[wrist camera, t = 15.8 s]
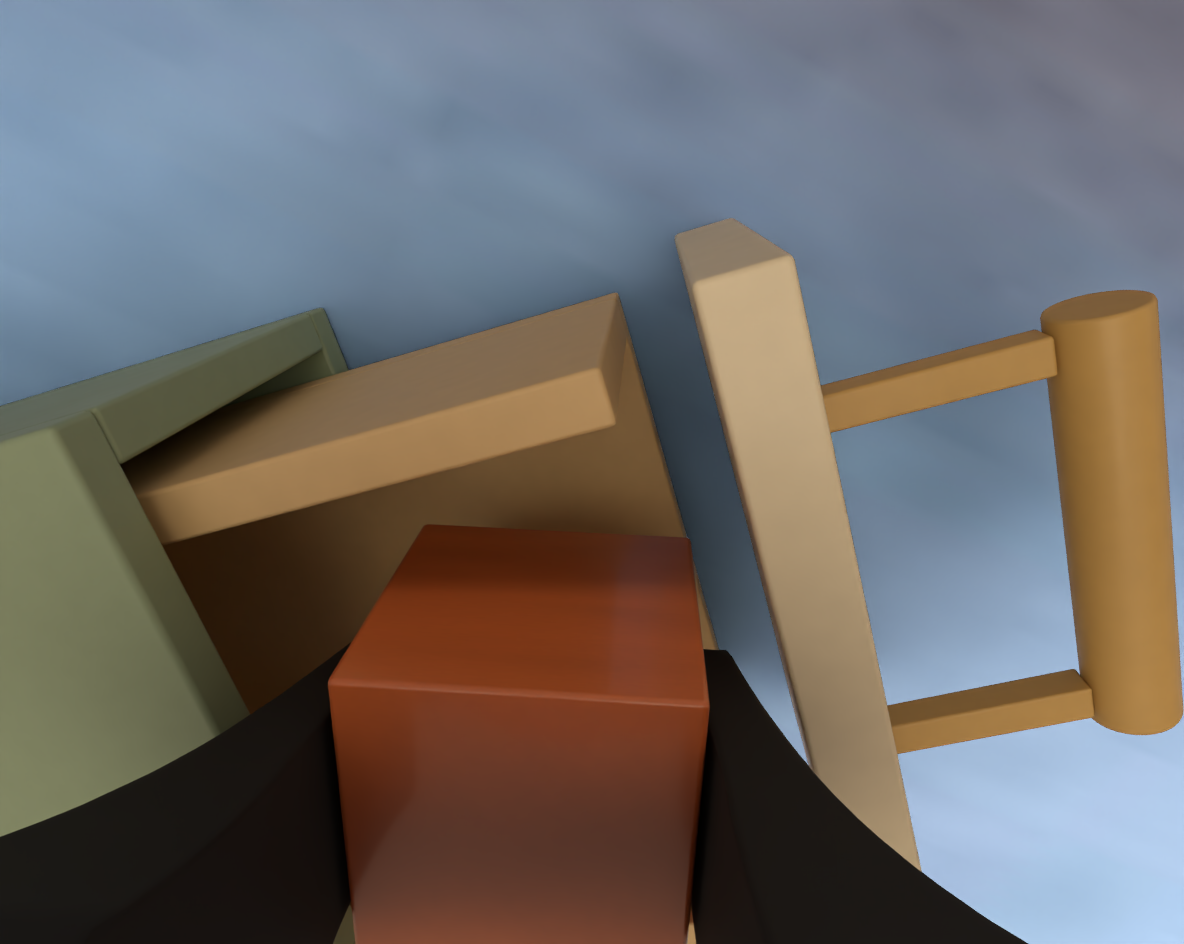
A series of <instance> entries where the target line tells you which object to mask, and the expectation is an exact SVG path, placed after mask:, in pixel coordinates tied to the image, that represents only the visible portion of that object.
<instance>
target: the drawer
mask: <svg viewBox="0 0 1184 944" xmlns="http://www.w3.org/2000/svg"><path fill="white" fill-rule="evenodd" d="M675 244H676V248H677V252H678V256H679V260H680V263H681V267H682V271H683V275H684V279H685V283H686V287H687V291H688V295H689V299H690V303H691V307H692V311H693V315H694V319H695V322H696V326H697V330H698V334H699V338H700V342H701V346H702V350H703V354H704V358H705V362H706V366H707V370H708V374H709V378H710V381H711V385H712V389H713V393H714V397H715V401H716V405H717V409H718V413H719V417H720V421H721V425H722V429H723V433H724V437H725V440H726V444H727V448H728V452H729V456H730V460H731V464H732V468H733V472H734V476H735V480H736V484H737V488H738V492H739V496H740V499H741V503H742V507H743V511H744V515H745V519H746V523H747V527H748V531H749V535H750V539H751V543H752V547H753V551H754V555H755V558H756V562H757V566H758V570H759V574H760V578H761V582H762V586H763V590H764V594H765V598H766V602H767V606H768V610H769V614H770V618H771V621H772V625H773V629H774V633H775V637H776V641H777V645H778V649H779V653H780V657H781V661H782V665H783V669H784V673H785V677H786V680H787V684H788V688H789V692H790V696H791V700H792V704H793V708H794V712H795V716H796V719H797V723H798V727H799V731H800V734H801V738H802V742H803V746H804V749H805V753H806V757H807V761H808V764H809V767H810V768H811V769H812V770H813V772H814V773H815V774H816V775H817V776H818V777H819V779H820V780H821V781H822V782H823V783H824V784H825V785H826V786H827V787H828V789H829V790H830V791H831V792H832V793H833V794H834V795H835V796H836V797H837V798H838V799H839V800H840V801H841V802H842V803H843V804H844V805H845V806H846V807H847V808H848V809H849V810H850V811H851V812H852V813H853V814H854V815H855V816H856V817H857V818H858V819H859V820H860V821H862V822H863V823H864V824H865V825H866V826H867V827H868V828H869V829H870V830H872V831H873V832H874V833H875V834H876V835H877V836H878V837H879V838H881V839H882V840H883V841H884V842H885V843H887V844H888V845H889V846H890V847H891V848H893V849H894V850H895V851H896V852H897V853H899V854H900V855H901V856H902V857H903V858H905V859H906V860H907V861H908V862H910V863H911V864H912V865H913V866H914V867H916V868H917V869H918V870H920V871H921V866H920V861H919V856H918V852H917V847H916V842H915V837H914V832H913V828H912V823H911V818H910V813H909V808H908V803H907V799H906V794H905V789H904V784H903V779H902V775H901V770H900V765H899V760H898V755H897V754H900V753H905V752H911V751H916V750H921V749H927V748H932V747H937V746H943V745H948V744H953V743H959V742H964V741H969V740H975V739H980V738H985V737H991V736H996V735H1001V734H1007V733H1012V732H1017V731H1023V730H1028V729H1033V728H1039V727H1044V726H1050V725H1055V724H1060V723H1066V722H1071V721H1076V720H1082V719H1087V718H1092V719H1093V720H1095V721H1096V722H1097V723H1099V724H1100V725H1102V726H1104V727H1106V728H1108V729H1111V730H1114V731H1117V732H1121V733H1126V734H1133V735H1151V734H1157V733H1161V732H1164V731H1167V730H1169V729H1171V728H1173V727H1174V726H1175V725H1176V724H1177V723H1178V722H1179V721H1180V719H1181V718H1182V715H1183V698H1182V682H1181V666H1180V650H1179V634H1178V619H1177V603H1176V587H1175V571H1174V555H1173V539H1172V523H1171V507H1170V491H1169V475H1168V459H1167V443H1166V427H1165V411H1164V395H1163V379H1162V363H1161V347H1160V331H1159V315H1158V300H1157V298H1156V296H1155V295H1154V294H1152V293H1150V292H1145V291H1137V290H1117V291H1106V292H1099V293H1092V294H1087V295H1082V296H1078V297H1074V298H1071V299H1067V300H1064V301H1062V302H1059V303H1057V304H1054V305H1052V306H1050V307H1048V308H1047V309H1045V310H1044V311H1043V312H1042V314H1041V317H1040V321H1041V330H1042V332H1040V331H1038V330H1031V331H1027V332H1023V333H1020V334H1016V335H1012V336H1008V337H1004V338H1001V339H997V340H993V341H989V342H985V343H982V344H978V345H974V346H970V347H966V348H962V349H959V350H955V351H951V352H947V353H943V354H940V355H936V356H932V357H928V358H924V359H921V360H917V361H913V362H909V363H905V364H901V365H898V366H894V367H890V368H886V369H882V370H879V371H875V372H871V373H867V374H863V375H860V376H856V377H852V378H848V379H844V380H840V381H837V382H833V383H829V384H825V385H820V380H819V375H818V371H817V366H816V361H815V356H814V351H813V347H812V342H811V337H810V332H809V327H808V322H807V318H806V313H805V308H804V303H803V298H802V294H801V289H800V284H799V279H798V274H797V270H796V265H795V260H794V258H793V257H792V256H791V255H790V254H789V253H787V252H786V251H784V250H782V249H781V248H779V247H778V246H776V245H775V244H773V243H771V242H770V241H768V240H767V239H765V238H764V237H762V236H761V235H759V234H757V233H756V232H754V231H753V230H751V229H750V228H748V227H746V226H745V225H743V224H742V223H740V222H739V221H737V220H735V219H734V218H729V219H725V220H722V221H719V222H715V223H712V224H709V225H705V226H702V227H699V228H695V229H692V230H689V231H685V232H682V233H679V234H677V235H676V236H675ZM1046 378H1047V383H1048V392H1049V401H1050V410H1051V419H1052V428H1053V437H1054V446H1055V455H1056V464H1057V473H1058V482H1059V491H1060V500H1061V509H1062V518H1063V527H1064V536H1065V545H1066V554H1067V563H1068V572H1069V581H1070V590H1071V599H1072V608H1073V617H1074V626H1075V635H1076V643H1077V652H1078V661H1079V670H1080V675H1079V673H1078V672H1077V671H1076V670H1075V669H1070V670H1065V671H1060V672H1055V673H1050V674H1045V675H1040V676H1035V677H1030V678H1025V679H1020V680H1015V681H1009V682H1004V683H999V684H994V685H989V686H984V687H979V688H974V689H969V690H964V691H959V692H954V693H948V694H943V695H938V696H933V697H928V698H923V699H918V700H913V701H908V702H903V703H898V704H893V705H888V706H887V702H886V698H885V693H884V688H883V683H882V678H881V674H880V669H879V664H878V659H877V654H876V650H875V645H874V640H873V635H872V630H871V626H870V621H869V616H868V611H867V606H866V601H865V597H864V592H863V587H862V582H861V577H860V573H859V568H858V563H857V558H856V553H855V549H854V544H853V539H852V534H851V529H850V525H849V520H848V515H847V510H846V505H845V500H844V496H843V491H842V486H841V481H840V476H839V472H838V467H837V462H836V457H835V452H834V448H833V443H832V438H831V433H832V432H836V431H840V430H844V429H848V428H851V427H855V426H859V425H863V424H867V423H871V422H875V421H879V420H883V419H887V418H891V417H895V416H899V415H903V414H907V413H911V412H915V411H919V410H923V409H927V408H931V407H935V406H939V405H943V404H947V403H950V402H954V401H958V400H962V399H966V398H970V397H974V396H978V395H982V394H986V393H990V392H994V391H998V390H1002V389H1006V388H1010V387H1014V386H1018V385H1022V384H1026V383H1030V382H1034V381H1038V380H1042V379H1046ZM120 466H121V468H122V470H123V471H124V473H125V475H126V477H127V479H128V481H129V483H130V485H131V487H132V489H133V491H134V493H135V494H136V496H137V498H138V500H139V502H140V504H141V506H142V508H143V510H144V512H145V514H146V515H147V517H148V519H149V521H150V523H151V525H152V527H153V529H154V531H155V533H156V535H157V537H158V538H159V540H160V542H161V544H162V546H163V548H164V550H165V552H166V554H167V556H168V558H169V559H170V561H171V563H172V565H173V567H174V569H175V571H176V573H177V575H178V577H179V579H180V581H181V582H182V584H183V586H184V588H185V590H186V592H187V594H188V596H189V598H190V600H191V602H192V603H193V605H194V607H195V609H196V611H197V613H198V615H199V617H200V619H201V621H202V623H203V624H204V626H205V628H206V630H207V632H208V634H209V636H210V638H211V640H212V642H213V644H214V646H215V647H216V649H217V651H218V653H219V655H220V657H221V659H222V661H223V663H224V665H225V667H226V668H227V670H228V672H229V674H230V676H231V678H232V680H233V682H234V684H235V686H236V688H237V690H238V691H239V693H240V695H241V697H242V699H243V701H244V703H245V705H246V707H247V709H248V711H249V712H250V714H252V713H253V712H255V711H256V710H258V709H259V708H261V707H262V706H264V705H265V704H267V703H268V702H270V701H271V700H273V699H274V698H276V697H277V696H279V695H280V694H282V693H283V692H284V691H286V690H287V689H288V688H290V687H291V686H293V685H294V684H295V683H297V682H298V681H299V680H301V679H302V678H304V677H305V676H306V675H308V674H309V673H310V672H312V671H313V670H314V669H316V668H317V667H319V666H320V665H321V664H323V663H324V662H325V661H327V660H328V659H329V658H330V657H332V656H333V655H334V654H336V653H337V652H338V651H340V650H341V649H342V648H344V647H345V646H346V645H348V644H349V643H350V642H352V641H353V639H354V637H355V636H356V634H357V633H358V631H359V629H360V628H361V626H362V624H363V623H364V621H365V620H366V618H367V616H368V615H369V613H370V611H371V610H372V608H373V607H374V605H375V603H376V602H377V600H378V599H379V597H380V595H381V594H382V592H383V590H384V589H385V587H386V586H387V584H388V582H389V581H390V579H391V577H392V576H393V574H394V573H395V571H396V569H397V568H398V566H399V565H400V563H401V561H402V560H403V558H404V556H405V555H406V553H407V552H408V550H409V548H410V547H411V545H412V543H413V542H414V540H415V539H416V537H417V535H418V534H419V532H420V531H421V529H422V527H423V526H424V525H426V524H436V525H455V526H474V527H493V528H513V529H532V530H551V531H571V532H590V533H609V534H628V535H648V536H667V537H686V538H687V535H686V531H685V528H684V524H683V521H682V517H681V514H680V510H679V507H678V503H677V500H676V496H675V492H674V489H673V485H672V482H671V478H670V475H669V471H668V468H667V464H666V461H665V457H664V454H663V450H662V447H661V443H660V439H659V436H658V432H657V429H656V425H655V422H654V418H653V415H652V411H651V408H650V404H649V401H648V397H647V393H646V390H645V386H644V383H643V379H642V376H641V372H640V369H639V365H638V362H637V358H636V355H635V351H634V347H633V344H632V340H631V337H630V333H629V330H628V326H627V323H626V319H625V316H624V312H623V309H622V305H621V301H620V298H619V295H618V293H612V294H608V295H605V296H602V297H598V298H595V299H591V300H588V301H584V302H581V303H578V304H574V305H571V306H567V307H564V308H561V309H557V310H554V311H550V312H547V313H543V314H540V315H537V316H533V317H530V318H526V319H523V320H519V321H516V322H513V323H509V324H506V325H502V326H499V327H496V328H492V329H489V330H485V331H482V332H478V333H475V334H472V335H468V336H465V337H461V338H458V339H454V340H451V341H448V342H444V343H441V344H437V345H434V346H431V347H427V348H424V349H420V350H417V351H413V352H410V353H407V354H403V355H400V356H396V357H393V358H390V359H386V360H383V361H379V362H376V363H372V364H369V365H366V366H362V367H359V368H355V369H352V370H348V371H345V372H342V373H338V374H335V375H331V376H328V377H325V378H321V379H318V380H314V381H311V382H307V383H304V384H301V385H297V386H294V387H290V388H287V389H283V390H280V391H277V392H273V393H270V394H266V395H263V396H260V397H256V398H253V399H249V400H246V401H242V402H239V403H236V404H232V405H229V406H225V407H222V408H219V409H218V410H216V411H214V412H212V413H211V414H209V415H207V416H205V417H204V418H202V419H200V420H198V421H196V422H195V423H193V424H191V425H189V426H188V427H186V428H184V429H182V430H181V431H179V432H177V433H175V434H174V435H172V436H170V437H168V438H167V439H165V440H163V441H161V442H160V443H158V444H156V445H154V446H153V447H151V448H149V449H147V450H146V451H144V452H142V453H140V454H139V455H137V456H135V457H133V458H132V459H130V460H128V461H126V462H125V463H123V464H120ZM693 563H694V560H693ZM694 572H695V581H696V589H697V598H698V607H699V615H700V624H701V632H702V641H703V649H710V650H719V648H718V645H717V641H716V637H715V634H714V630H713V627H712V623H711V620H710V616H709V613H708V609H707V606H706V602H705V599H704V595H703V592H702V588H701V584H700V581H699V577H698V574H697V570H696V567H695V563H694ZM921 872H922V871H921ZM350 906H351V902H350ZM687 944H696V939H695V932H694V924H693V917H692V909H691V911H690V921H689V932H688V942H687Z"/></svg>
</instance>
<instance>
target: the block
mask: <svg viewBox="0 0 1184 944" xmlns="http://www.w3.org/2000/svg"><path fill="white" fill-rule="evenodd" d="M328 690H329V700H330V709H331V719H332V728H333V738H334V747H335V756H336V766H337V775H338V785H339V794H340V804H341V813H342V823H343V832H344V841H345V851H346V860H347V870H348V879H349V889H350V898H351V908H352V917H353V926H354V936H355V944H687V942H688V932H689V921H690V911H691V900H692V890H693V879H694V869H695V858H696V848H697V837H698V827H699V816H700V806H701V795H702V785H703V774H704V764H705V753H706V743H707V732H708V722H709V711H710V702H709V693H708V684H707V676H706V667H705V658H704V650H703V641H702V632H701V624H700V615H699V607H698V598H697V589H696V581H695V572H694V563H693V555H692V546H691V541H690V539H689V538H686V537H667V536H648V535H628V534H609V533H590V532H571V531H551V530H532V529H513V528H493V527H474V526H455V525H436V524H426V525H424V526H423V527H422V529H421V531H420V532H419V534H418V535H417V537H416V539H415V540H414V542H413V543H412V545H411V547H410V548H409V550H408V552H407V553H406V555H405V556H404V558H403V560H402V561H401V563H400V565H399V566H398V568H397V569H396V571H395V573H394V574H393V576H392V577H391V579H390V581H389V582H388V584H387V586H386V587H385V589H384V590H383V592H382V594H381V595H380V597H379V599H378V600H377V602H376V603H375V605H374V607H373V608H372V610H371V611H370V613H369V615H368V616H367V618H366V620H365V621H364V623H363V624H362V626H361V628H360V629H359V631H358V633H357V634H356V636H355V637H354V639H353V641H352V642H351V644H350V646H349V647H348V649H347V650H346V652H345V654H344V655H343V657H342V658H341V660H340V662H339V663H338V665H337V667H336V668H335V670H334V671H333V673H332V675H331V676H330V678H329V680H328Z"/></svg>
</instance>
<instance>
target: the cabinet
mask: <svg viewBox="0 0 1184 944" xmlns="http://www.w3.org/2000/svg"><path fill="white" fill-rule="evenodd" d="M345 371H348V367H347V365H346V363H345V360H344V358H343V355H342V353H341V350H340V348H339V345H338V343H337V340H336V338H335V335H334V333H333V331H332V328H331V326H330V323H329V321H328V318H327V316H326V313H325V311H324V309H323V308H317V309H314V310H311V311H307V312H304V313H301V314H298V315H294V316H291V317H288V318H285V319H281V320H278V321H275V322H272V323H268V324H265V325H262V326H259V327H255V328H252V329H249V330H246V331H242V332H239V333H236V334H233V335H229V336H226V337H223V338H220V339H216V340H213V341H210V342H207V343H203V344H200V345H197V346H194V347H190V348H187V349H184V350H181V351H177V352H174V353H171V354H168V355H164V356H161V357H158V358H155V359H151V360H148V361H145V362H142V363H138V364H135V365H132V366H129V367H125V368H122V369H119V370H116V371H112V372H109V373H106V374H103V375H99V376H96V377H93V378H90V379H86V380H83V381H80V382H77V383H73V384H70V385H67V386H64V387H60V388H57V389H54V390H51V391H47V392H44V393H41V394H38V395H34V396H31V397H28V398H25V399H21V400H18V401H15V402H12V403H8V404H5V405H2V406H0V837H1V836H4V835H6V834H9V833H12V832H14V831H17V830H20V829H22V828H25V827H28V826H30V825H33V824H36V823H38V822H41V821H43V820H46V819H48V818H51V817H53V816H56V815H58V814H61V813H63V812H66V811H68V810H71V809H73V808H75V807H78V806H80V805H83V804H85V803H87V802H89V801H91V800H93V799H96V798H98V797H100V796H102V795H104V794H106V793H108V792H111V791H113V790H115V789H117V788H119V787H121V786H123V785H126V784H128V783H130V782H132V781H134V780H136V779H139V778H141V777H143V776H145V775H147V774H149V773H151V772H153V771H155V770H157V769H159V768H161V767H163V766H165V765H166V764H168V763H170V762H172V761H174V760H176V759H177V758H179V757H181V756H183V755H185V754H187V753H188V752H190V751H192V750H194V749H196V748H197V747H199V746H201V745H203V744H204V743H206V742H208V741H209V740H211V739H213V738H215V737H216V736H218V735H219V734H221V733H223V732H224V731H226V730H228V729H229V728H231V727H232V726H234V725H235V724H237V723H238V722H240V721H241V720H243V719H244V718H246V717H247V716H249V715H250V712H249V711H248V709H247V707H246V705H245V703H244V701H243V699H242V697H241V695H240V693H239V691H238V690H237V688H236V686H235V684H234V682H233V680H232V678H231V676H230V674H229V672H228V670H227V668H226V667H225V665H224V663H223V661H222V659H221V657H220V655H219V653H218V651H217V649H216V647H215V646H214V644H213V642H212V640H211V638H210V636H209V634H208V632H207V630H206V628H205V626H204V624H203V623H202V621H201V619H200V617H199V615H198V613H197V611H196V609H195V607H194V605H193V603H192V602H191V600H190V598H189V596H188V594H187V592H186V590H185V588H184V586H183V584H182V582H181V581H180V579H179V577H178V575H177V573H176V571H175V569H174V567H173V565H172V563H171V561H170V559H169V558H168V556H167V554H166V552H165V550H164V548H163V546H162V544H161V542H160V540H159V538H158V537H157V535H156V533H155V531H154V529H153V527H152V525H151V523H150V521H149V519H148V517H147V515H146V514H145V512H144V510H143V508H142V506H141V504H140V502H139V500H138V498H137V496H136V494H135V493H134V491H133V489H132V487H131V485H130V483H129V481H128V479H127V477H126V475H125V473H124V471H123V470H122V468H121V466H120V464H123V463H125V462H126V461H128V460H130V459H132V458H133V457H135V456H137V455H139V454H140V453H142V452H144V451H146V450H147V449H149V448H151V447H153V446H154V445H156V444H158V443H160V442H161V441H163V440H165V439H167V438H168V437H170V436H172V435H174V434H175V433H177V432H179V431H181V430H182V429H184V428H186V427H188V426H189V425H191V424H193V423H195V422H196V421H198V420H200V419H202V418H204V417H205V416H207V415H209V414H211V413H212V412H214V411H216V410H218V409H219V408H222V407H225V406H229V405H232V404H236V403H239V402H242V401H246V400H249V399H253V398H256V397H260V396H263V395H266V394H270V393H273V392H277V391H280V390H283V389H287V388H290V387H294V386H297V385H301V384H304V383H307V382H311V381H314V380H318V379H321V378H325V377H328V376H331V375H335V374H338V373H342V372H345ZM333 944H355V936H354V926H353V917H352V908H351V906H350V904H349V907H348V909H347V911H346V913H345V916H344V918H343V920H342V923H341V925H340V927H339V930H338V932H337V935H336V937H335V940H334V942H333Z"/></svg>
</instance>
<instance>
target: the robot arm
mask: <svg viewBox="0 0 1184 944" xmlns="http://www.w3.org/2000/svg"><path fill="white" fill-rule="evenodd" d="M350 644H351V642H350V643H349V644H348V645H346V646H345V647H344V648H342V649H341V650H340V651H338V652H337V653H336V654H334V655H333V656H332V657H330V658H329V659H328V660H327V661H325V662H324V663H323V664H321V665H320V666H319V667H317V668H316V669H314V670H313V671H312V672H310V673H309V674H308V675H306V676H305V677H304V678H302V679H301V680H299V681H298V682H297V683H295V684H294V685H293V686H291V687H290V688H288V689H287V690H286V691H284V692H283V693H282V694H280V695H279V696H277V697H276V698H274V699H273V700H271V701H270V702H268V703H267V704H265V705H264V706H262V707H261V708H259V709H258V710H256V711H255V712H253V713H252V714H250V715H249V716H247V717H246V718H244V719H243V720H241V721H240V722H238V723H237V724H235V725H234V726H232V727H231V728H229V729H228V730H226V731H224V732H223V733H221V734H219V735H218V736H216V737H215V738H213V739H211V740H209V741H208V742H206V743H204V744H203V745H201V746H199V747H197V748H196V749H194V750H192V751H190V752H188V753H187V754H185V755H183V756H181V757H179V758H177V759H176V760H174V761H172V762H170V763H168V764H166V765H165V766H163V767H161V768H159V769H157V770H155V771H153V772H151V773H149V774H147V775H145V776H143V777H141V778H139V779H136V780H134V781H132V782H130V783H128V784H126V785H123V786H121V787H119V788H117V789H115V790H113V791H111V792H108V793H106V794H104V795H102V796H100V797H98V798H96V799H93V800H91V801H89V802H87V803H85V804H83V805H80V806H78V807H75V808H73V809H71V810H68V811H66V812H63V813H61V814H58V815H56V816H53V817H51V818H48V819H46V820H43V821H41V822H38V823H36V824H33V825H30V826H28V827H25V828H22V829H20V830H17V831H14V832H12V833H9V834H6V835H4V836H1V837H0V944H333V942H334V940H335V937H336V935H337V932H338V930H339V927H340V925H341V923H342V920H343V918H344V916H345V913H346V911H347V909H348V907H349V904H350V902H351V898H350V889H349V879H348V870H347V860H346V851H345V841H344V832H343V823H342V813H341V804H340V794H339V785H338V775H337V766H336V756H335V747H334V738H333V728H332V719H331V709H330V700H329V690H328V680H329V678H330V676H331V675H332V673H333V671H334V670H335V668H336V667H337V665H338V663H339V662H340V660H341V658H342V657H343V655H344V654H345V652H346V650H347V649H348V647H349V646H350ZM703 650H704V658H705V667H706V676H707V684H708V693H709V702H710V711H709V722H708V732H707V743H706V753H705V764H704V774H703V785H702V795H701V806H700V816H699V827H698V837H697V848H696V858H695V869H694V879H693V890H692V900H691V909H692V917H693V924H694V932H695V939H696V944H1028V943H1026V942H1025V941H1023V940H1021V939H1020V938H1018V937H1016V936H1015V935H1013V934H1011V933H1010V932H1008V931H1006V930H1005V929H1003V928H1001V927H1000V926H998V925H996V924H995V923H993V922H992V921H990V920H988V919H987V918H985V917H984V916H982V915H981V914H979V913H978V912H977V911H975V910H974V909H972V908H971V907H969V906H968V905H967V904H965V903H964V902H962V901H961V900H959V899H958V898H957V897H955V896H954V895H952V894H951V893H949V892H948V891H947V890H945V889H944V888H942V887H941V886H939V885H938V884H937V883H936V882H934V881H933V880H932V879H930V878H929V877H928V876H926V875H925V874H924V873H922V872H921V871H920V870H918V869H917V868H916V867H914V866H913V865H912V864H911V863H910V862H908V861H907V860H906V859H905V858H903V857H902V856H901V855H900V854H899V853H897V852H896V851H895V850H894V849H893V848H891V847H890V846H889V845H888V844H887V843H885V842H884V841H883V840H882V839H881V838H879V837H878V836H877V835H876V834H875V833H874V832H873V831H872V830H870V829H869V828H868V827H867V826H866V825H865V824H864V823H863V822H862V821H860V820H859V819H858V818H857V817H856V816H855V815H854V814H853V813H852V812H851V811H850V810H849V809H848V808H847V807H846V806H845V805H844V804H843V803H842V802H841V801H840V800H839V799H838V798H837V797H836V796H835V795H834V794H833V793H832V792H831V791H830V790H829V789H828V787H827V786H826V785H825V784H824V783H823V782H822V781H821V780H820V779H819V777H818V776H817V775H816V774H815V773H814V772H813V770H812V769H811V768H810V767H809V766H808V765H807V763H806V762H805V761H804V760H803V759H802V757H801V756H800V755H799V754H798V753H797V751H796V750H795V749H794V747H793V746H792V745H791V744H790V742H789V741H788V740H787V739H786V737H785V736H784V734H783V733H782V732H781V730H780V729H779V728H778V726H777V725H776V724H775V722H774V721H773V720H772V718H771V717H770V716H769V714H768V713H767V711H766V710H765V709H764V707H763V706H762V704H761V703H760V701H759V700H758V698H757V697H756V695H755V694H754V692H753V691H752V689H751V688H750V686H749V684H748V683H747V681H746V680H745V678H744V676H743V675H742V673H741V671H740V670H739V668H738V666H737V665H736V663H735V661H734V659H733V657H732V656H731V655H730V654H729V653H728V652H727V651H726V650H710V649H703Z"/></svg>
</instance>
